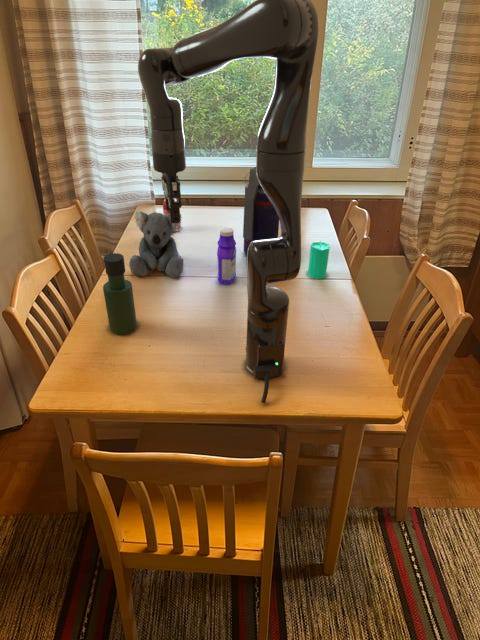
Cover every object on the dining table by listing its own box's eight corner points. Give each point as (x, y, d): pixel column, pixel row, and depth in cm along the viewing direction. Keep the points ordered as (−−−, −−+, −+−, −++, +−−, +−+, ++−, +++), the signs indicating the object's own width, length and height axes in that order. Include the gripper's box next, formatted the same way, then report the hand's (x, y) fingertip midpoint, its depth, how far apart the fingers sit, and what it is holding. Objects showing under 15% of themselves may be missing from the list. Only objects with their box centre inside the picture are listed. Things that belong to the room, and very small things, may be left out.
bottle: (232, 286, 148) (233, 235, 138) (215, 284, 149) (214, 233, 139) (237, 276, 154) (238, 225, 144) (220, 274, 155) (220, 223, 145)
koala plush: (128, 278, 151) (121, 220, 140) (138, 254, 166) (132, 199, 155) (183, 279, 151) (180, 221, 140) (187, 254, 166) (185, 200, 155)
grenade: (257, 243, 175) (260, 161, 158) (283, 253, 169) (290, 168, 152) (233, 256, 166) (234, 170, 149) (260, 266, 160) (264, 178, 143)
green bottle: (137, 333, 126) (130, 277, 117) (110, 336, 125) (100, 280, 115) (136, 318, 132) (129, 264, 123) (109, 321, 131) (100, 266, 121)
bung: (126, 283, 119) (123, 260, 115) (107, 284, 118) (103, 262, 114) (126, 274, 123) (123, 252, 119) (107, 275, 122) (103, 254, 118)
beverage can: (162, 227, 185) (160, 198, 179) (177, 225, 188) (176, 195, 181) (167, 233, 181) (165, 203, 174) (183, 231, 183) (181, 201, 176)
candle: (305, 276, 155) (308, 242, 148) (311, 268, 159) (315, 235, 152) (322, 280, 152) (326, 246, 146) (328, 272, 157) (333, 239, 150)
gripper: (148, 142, 113) (154, 207, 122) (155, 157, 101) (161, 228, 110) (180, 140, 114) (183, 205, 123) (190, 155, 103) (193, 225, 112)
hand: (173, 216), depth 117 cm, fingers open, 8 cm apart
